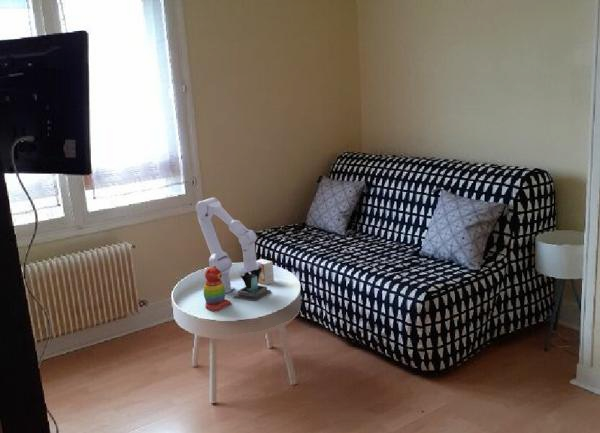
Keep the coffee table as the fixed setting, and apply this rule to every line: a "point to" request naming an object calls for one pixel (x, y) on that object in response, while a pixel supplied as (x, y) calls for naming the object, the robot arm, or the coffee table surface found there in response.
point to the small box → (266, 272)
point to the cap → (253, 283)
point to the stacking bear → (214, 290)
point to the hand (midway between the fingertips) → (252, 286)
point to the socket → (252, 293)
